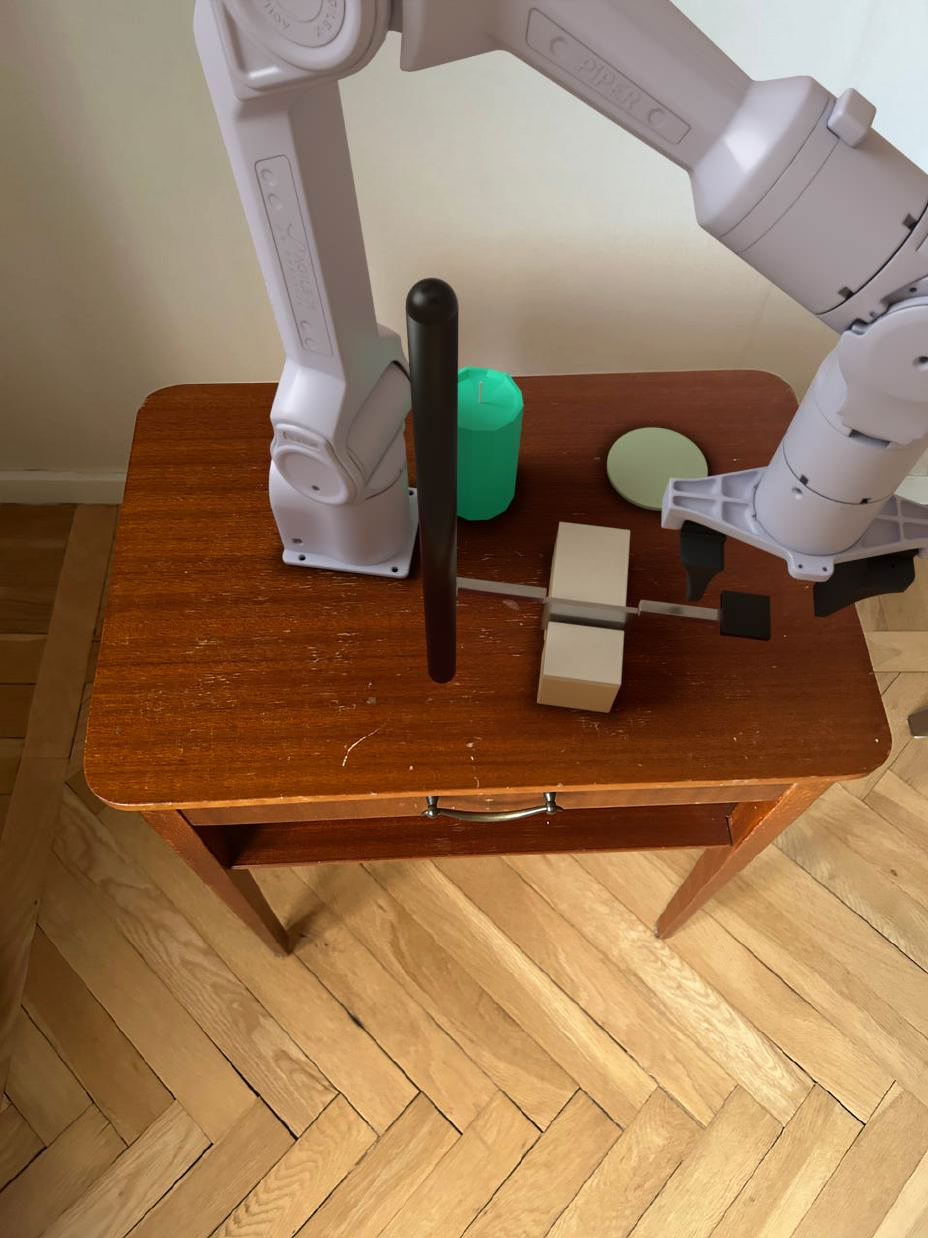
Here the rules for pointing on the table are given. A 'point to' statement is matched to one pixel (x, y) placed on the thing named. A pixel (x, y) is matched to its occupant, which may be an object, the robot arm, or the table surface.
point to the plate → (652, 464)
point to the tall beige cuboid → (590, 564)
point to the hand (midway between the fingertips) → (755, 595)
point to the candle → (487, 442)
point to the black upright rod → (437, 507)
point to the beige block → (581, 667)
